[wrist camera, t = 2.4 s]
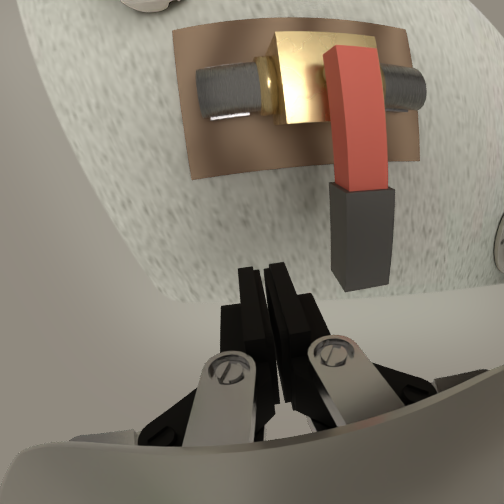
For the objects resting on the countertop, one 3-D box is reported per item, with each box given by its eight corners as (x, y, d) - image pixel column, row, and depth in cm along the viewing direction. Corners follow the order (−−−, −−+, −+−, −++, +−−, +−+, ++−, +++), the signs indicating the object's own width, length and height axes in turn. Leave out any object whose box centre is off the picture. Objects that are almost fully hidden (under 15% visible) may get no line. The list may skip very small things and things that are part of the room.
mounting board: (398, 32, 20) (405, 29, 19) (411, 159, 26) (419, 161, 24) (175, 35, 20) (172, 30, 19) (194, 177, 26) (191, 180, 24)
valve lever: (355, 61, 15) (383, 47, 11) (364, 257, 21) (388, 284, 17) (311, 59, 15) (331, 43, 11) (326, 262, 21) (345, 292, 17)
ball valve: (395, 60, 20) (434, 48, 14) (402, 122, 23) (443, 125, 17) (199, 63, 20) (187, 41, 14) (208, 133, 23) (199, 134, 17)
